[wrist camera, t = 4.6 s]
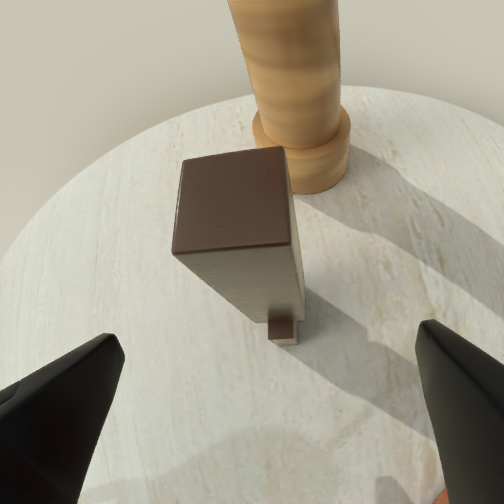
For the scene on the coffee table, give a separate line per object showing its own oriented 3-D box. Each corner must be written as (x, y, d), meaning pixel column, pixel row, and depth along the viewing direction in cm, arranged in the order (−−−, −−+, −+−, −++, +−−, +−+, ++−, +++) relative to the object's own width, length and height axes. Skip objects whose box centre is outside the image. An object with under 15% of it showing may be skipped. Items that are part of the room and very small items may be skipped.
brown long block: (308, 344, 17) (294, 287, 5) (267, 346, 17) (165, 294, 6) (305, 278, 19) (281, 119, 7) (266, 281, 19) (185, 134, 7)
